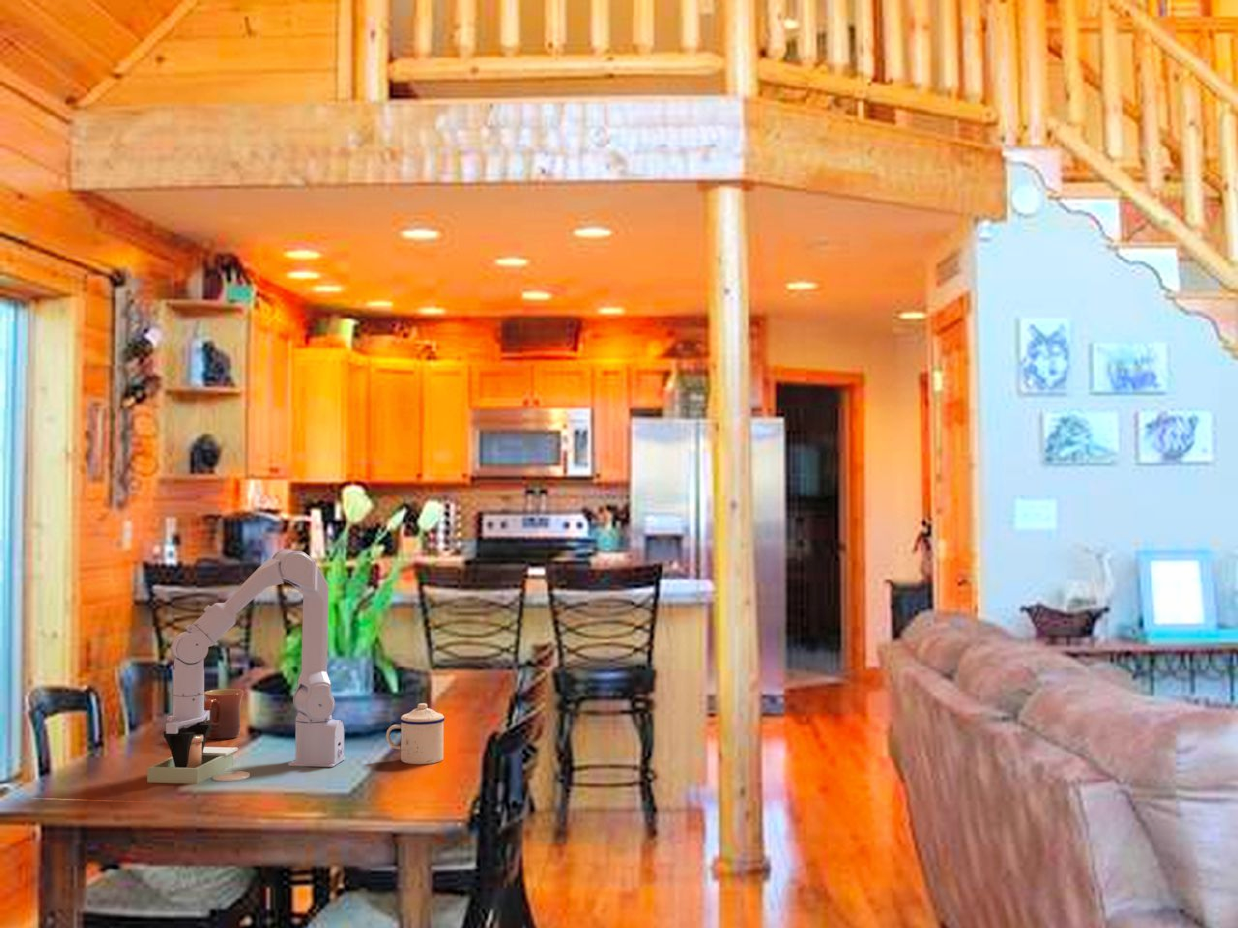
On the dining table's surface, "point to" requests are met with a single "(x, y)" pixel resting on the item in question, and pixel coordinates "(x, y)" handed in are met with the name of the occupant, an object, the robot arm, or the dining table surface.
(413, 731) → the teacup with lid
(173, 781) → the box with sliding lid
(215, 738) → the mug
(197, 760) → the pot
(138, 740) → the dining table surface
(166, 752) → the dining table surface
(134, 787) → the dining table surface
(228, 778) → the saucer
